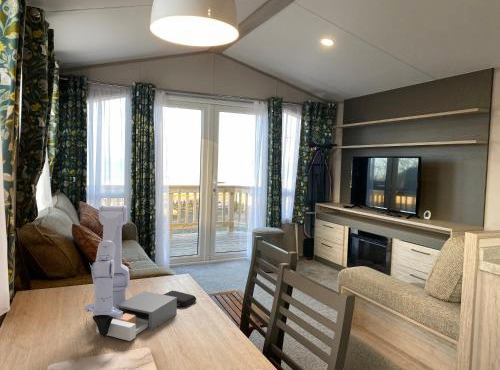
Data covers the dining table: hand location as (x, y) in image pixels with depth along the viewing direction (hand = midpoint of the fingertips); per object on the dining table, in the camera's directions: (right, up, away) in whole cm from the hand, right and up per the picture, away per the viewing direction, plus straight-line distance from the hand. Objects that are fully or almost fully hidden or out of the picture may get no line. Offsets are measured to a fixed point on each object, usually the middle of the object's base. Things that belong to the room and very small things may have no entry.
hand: (103, 335), depth 127 cm
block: (+5, 0, +7) cm, 9 cm away
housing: (+10, -1, +18) cm, 21 cm away
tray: (+5, -1, +7) cm, 9 cm away
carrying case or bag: (+18, 0, +36) cm, 40 cm away
